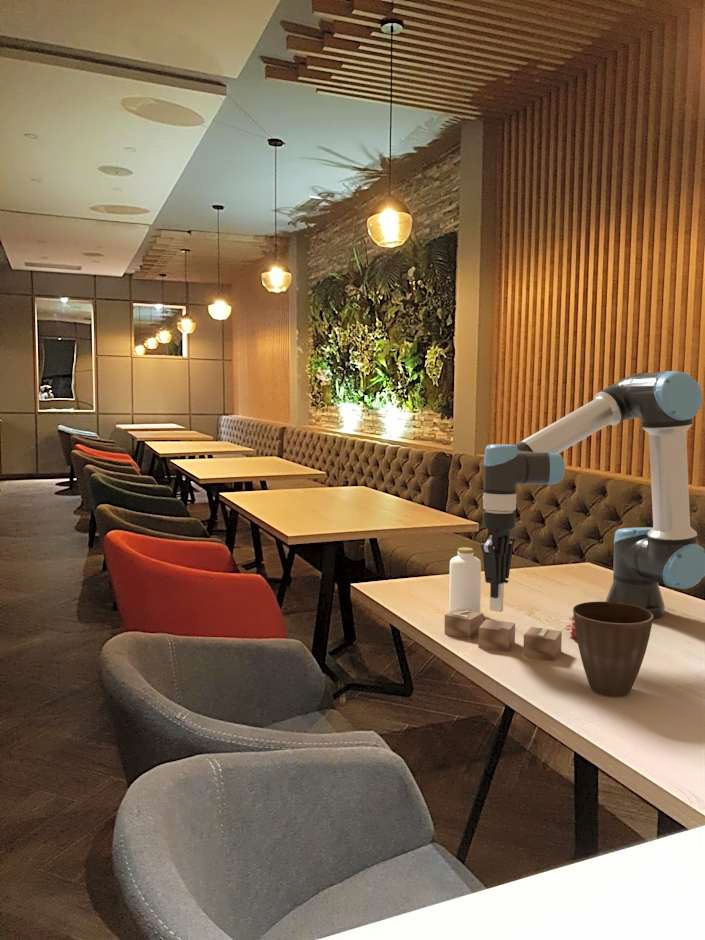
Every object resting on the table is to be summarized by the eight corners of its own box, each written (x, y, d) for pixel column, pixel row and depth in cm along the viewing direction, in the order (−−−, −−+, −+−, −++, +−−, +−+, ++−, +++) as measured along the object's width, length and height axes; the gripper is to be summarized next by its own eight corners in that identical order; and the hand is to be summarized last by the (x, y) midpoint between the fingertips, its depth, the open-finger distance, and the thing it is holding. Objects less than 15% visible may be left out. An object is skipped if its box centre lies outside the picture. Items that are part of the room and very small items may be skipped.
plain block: (514, 643, 175) (515, 622, 175) (508, 652, 169) (508, 631, 169) (485, 639, 178) (486, 619, 178) (478, 648, 172) (478, 627, 172)
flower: (613, 628, 180) (594, 600, 183) (613, 632, 172) (594, 602, 174) (578, 648, 182) (560, 619, 185) (577, 652, 174) (558, 622, 176)
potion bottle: (442, 614, 198) (443, 549, 196) (460, 608, 204) (461, 544, 202) (468, 621, 192) (469, 553, 191) (486, 614, 199) (487, 548, 197)
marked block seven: (482, 632, 184) (483, 612, 183) (470, 639, 178) (470, 618, 178) (457, 627, 188) (457, 607, 187) (444, 634, 182) (444, 614, 182)
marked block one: (561, 652, 169) (561, 630, 169) (554, 661, 163) (555, 639, 163) (530, 647, 172) (531, 626, 172) (523, 656, 166) (523, 634, 166)
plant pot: (658, 708, 138) (661, 624, 136) (575, 702, 141) (578, 620, 139) (641, 678, 153) (644, 603, 151) (567, 674, 155) (569, 599, 154)
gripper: (497, 506, 178) (494, 601, 180) (471, 512, 168) (468, 613, 170) (526, 509, 174) (523, 607, 176) (501, 515, 163) (498, 619, 165)
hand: (496, 610), depth 173 cm, fingers closed
